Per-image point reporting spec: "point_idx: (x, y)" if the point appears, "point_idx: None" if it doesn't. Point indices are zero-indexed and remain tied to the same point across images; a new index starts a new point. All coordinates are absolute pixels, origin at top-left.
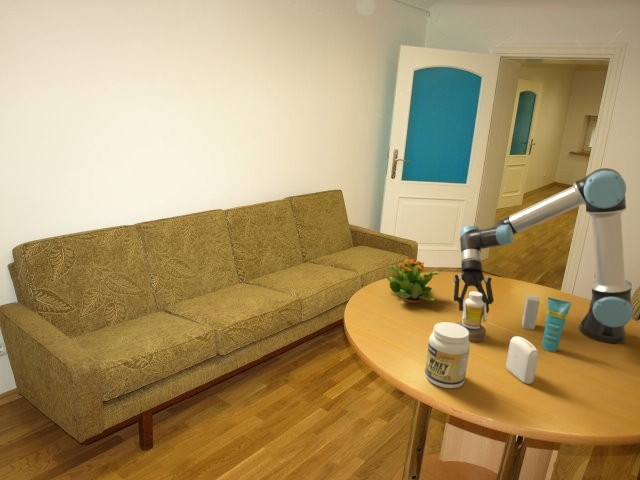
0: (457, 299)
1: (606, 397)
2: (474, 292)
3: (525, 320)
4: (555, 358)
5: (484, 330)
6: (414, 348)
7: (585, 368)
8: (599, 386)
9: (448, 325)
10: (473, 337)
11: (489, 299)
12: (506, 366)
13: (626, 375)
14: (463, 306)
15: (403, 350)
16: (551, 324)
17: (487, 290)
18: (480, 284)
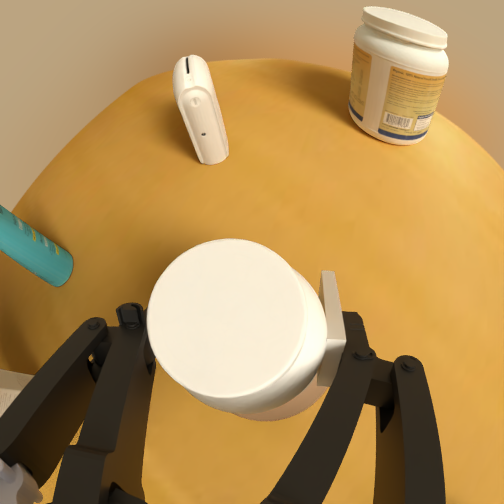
0: (392, 364)
1: (106, 124)
2: (225, 352)
3: None
4: (81, 222)
5: None
6: (465, 229)
7: (62, 195)
8: (90, 146)
9: (417, 25)
10: None
11: (98, 373)
12: (228, 150)
13: (32, 189)
14: (340, 317)
15: (483, 217)
16: (18, 222)
17: (62, 417)
18: (80, 456)
